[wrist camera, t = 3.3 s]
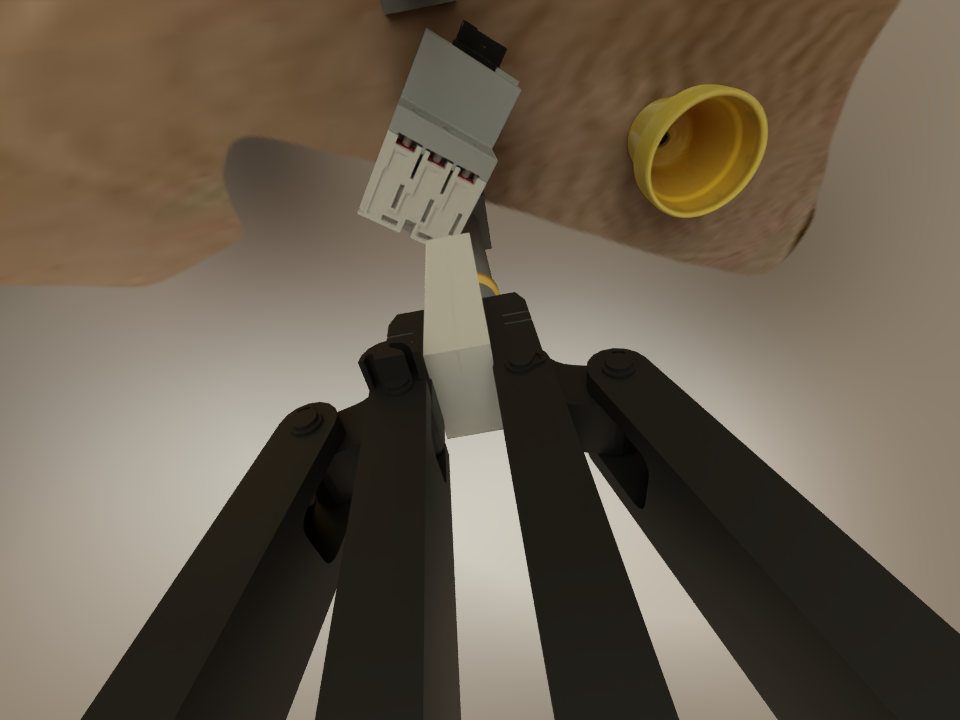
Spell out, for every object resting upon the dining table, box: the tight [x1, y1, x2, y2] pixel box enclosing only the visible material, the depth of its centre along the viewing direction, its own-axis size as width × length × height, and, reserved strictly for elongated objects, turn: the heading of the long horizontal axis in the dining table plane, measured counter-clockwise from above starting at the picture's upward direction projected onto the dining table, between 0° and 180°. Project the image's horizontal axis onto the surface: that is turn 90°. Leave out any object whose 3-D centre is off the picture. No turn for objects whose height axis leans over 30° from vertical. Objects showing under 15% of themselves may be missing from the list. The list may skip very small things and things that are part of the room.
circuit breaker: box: [358, 20, 521, 245], centre depth 36 cm, size 8×14×15 cm, turn 152°
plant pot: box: [628, 84, 768, 218], centre depth 41 cm, size 10×10×10 cm
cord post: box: [461, 192, 500, 298], centre depth 39 cm, size 6×6×24 cm
